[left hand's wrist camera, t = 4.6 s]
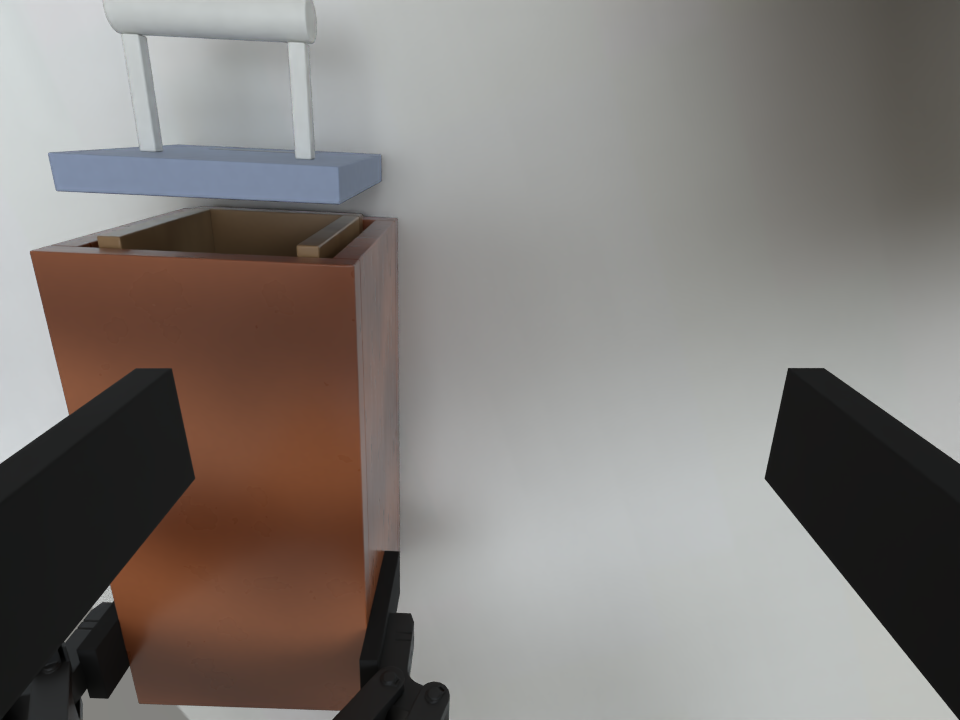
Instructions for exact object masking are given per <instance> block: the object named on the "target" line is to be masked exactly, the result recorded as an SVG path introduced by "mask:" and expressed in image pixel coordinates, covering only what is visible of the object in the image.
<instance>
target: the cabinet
mask: <svg viewBox="0 0 960 720" xmlns="http://www.w3.org/2000/svg"><path fill="white" fill-rule="evenodd" d="M186 210H190V209H189V208H184V209H180V210H177V211H173V212H169V213H166V214H162V215H159V216H155V217H151V218H148V219H144V220H140V221H137V222H133V223H130V224H126V225H122V226H119V227H115V228H112V229H108V230H104V231H101V232H97V233H94V234H90V235H86V236H83V237H79V238H75V239H72V240H68V241H65V242H61V243H57V244H54V245H51V246H46V247H43V248H39V249H35V250H32V251H30V255H31V259H32V263H33V267H34V271H35V275H36V279H37V284H38V288H39V292H40V296H41V300H42V304H43V308H44V313H45V317H46V321H47V325H48V329H49V333H50V337H51V342H52V346H53V350H54V354H55V358H56V362H57V366H58V371H59V375H60V379H61V383H62V387H63V391H64V395H65V400H66V404H67V408H68V412H69V415H70V414H72V413H73V412H75V411H76V410H77V409H79V408H80V407H82V406H83V405H85V404H86V403H87V402H89V401H90V400H92V399H93V398H94V397H96V396H97V395H99V394H100V393H102V392H103V391H104V390H106V389H107V388H109V387H110V386H111V385H113V384H114V383H116V382H117V381H119V380H120V379H121V378H123V377H124V376H126V375H127V374H128V373H130V372H131V371H133V370H134V369H136V368H172V371H173V376H174V381H175V385H176V390H177V395H178V399H179V404H180V409H181V414H182V418H183V423H184V428H185V432H186V437H187V442H188V446H189V451H190V456H191V460H192V465H193V470H194V475H195V480H194V481H193V482H192V483H191V485H190V486H189V487H188V488H187V490H186V491H185V492H184V493H183V495H182V496H181V497H180V498H179V499H178V501H177V502H176V503H175V504H174V506H173V507H172V508H171V509H170V511H169V512H168V513H167V514H166V516H165V517H164V518H163V519H162V521H161V522H160V523H159V524H158V526H157V527H156V528H155V529H154V531H153V532H152V533H151V534H150V535H149V537H148V538H147V539H146V540H145V542H144V543H143V544H142V545H141V547H140V548H139V549H138V550H137V552H136V553H135V554H134V555H133V557H132V558H131V559H130V560H129V562H128V563H127V564H126V565H125V566H124V568H123V569H122V570H121V571H120V573H119V574H118V575H117V576H116V578H115V579H114V580H113V581H112V583H111V584H110V586H111V590H112V594H113V598H114V602H115V607H116V611H117V615H118V619H119V623H120V627H121V631H122V636H123V640H124V644H125V648H126V652H127V656H128V660H129V665H130V669H131V673H132V677H133V681H134V685H135V689H136V693H137V698H138V702H139V703H140V704H162V705H191V706H220V707H249V708H278V709H307V710H336V711H341V710H342V709H343V708H344V707H345V706H346V705H347V704H348V703H349V701H350V700H351V699H352V698H353V697H354V696H355V695H356V694H357V693H358V692H359V691H360V667H359V659H360V655H361V651H362V646H363V642H364V638H365V633H366V629H367V626H368V622H369V617H370V613H371V609H372V604H373V600H374V595H375V591H376V587H377V582H378V578H379V573H380V569H381V565H382V560H383V556H384V551H400V508H399V361H398V219H397V218H382V217H363V232H362V233H361V234H360V235H358V236H357V237H356V238H355V239H354V240H353V241H352V242H351V243H349V244H348V245H347V246H346V247H345V248H344V249H343V250H342V251H340V252H339V253H338V254H337V255H336V256H335V257H334V258H333V259H332V258H310V257H288V256H266V255H245V254H223V253H201V252H179V251H157V250H135V249H113V248H99V245H98V240H97V236H99V235H102V234H106V233H109V232H113V231H116V230H120V229H123V228H127V227H130V226H134V225H137V224H141V223H144V222H148V221H151V220H155V219H158V218H162V217H165V216H169V215H172V214H176V213H179V212H183V211H186Z"/></svg>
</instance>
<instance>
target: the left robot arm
mask: <svg viewBox="0 0 960 720" xmlns="http://www.w3.org/2000/svg"><path fill="white" fill-rule="evenodd" d="M194 480H195V475H194V470H193V465H192V460H191V456H190V451H189V446H188V442H187V437H186V432H185V428H184V423H183V418H182V414H181V409H180V404H179V399H178V395H177V390H176V385H175V381H174V376H173V371H172V368H136V369H134V370H133V371H131V372H130V373H128V374H127V375H126V376H124V377H123V378H121V379H120V380H119V381H117V382H116V383H114V384H113V385H111V386H110V387H109V388H107V389H106V390H104V391H103V392H102V393H100V394H99V395H97V396H96V397H94V398H93V399H92V400H90V401H89V402H87V403H86V404H85V405H83V406H82V407H80V408H79V409H77V410H76V411H75V412H73V413H72V414H70V415H69V416H68V417H66V418H65V419H63V420H62V421H60V422H59V423H58V424H56V425H55V426H53V427H52V428H51V429H49V430H48V431H46V432H45V433H43V434H42V435H41V436H39V437H38V438H36V439H35V440H33V441H32V442H31V443H29V444H28V445H26V446H25V447H24V448H22V449H21V450H19V451H18V452H16V453H15V454H14V455H12V456H11V457H9V458H8V459H7V460H5V461H4V462H2V463H1V464H0V720H1V719H2V718H3V717H4V715H5V714H6V713H7V712H8V710H9V709H10V708H11V707H12V705H13V704H14V703H15V702H16V700H17V699H18V698H19V697H20V696H21V694H22V693H23V692H24V691H25V689H26V688H27V687H28V686H29V684H30V683H31V682H32V681H33V679H34V678H35V677H36V676H37V674H38V673H39V672H40V671H41V669H42V668H43V667H44V666H45V665H46V663H47V662H48V661H49V660H50V658H51V657H52V656H53V655H54V653H55V652H56V651H57V650H58V648H59V647H60V646H61V645H62V643H63V642H64V641H65V640H66V638H67V637H68V636H69V635H70V633H71V632H72V631H73V630H74V628H75V627H76V626H77V625H78V623H79V622H80V621H81V620H82V619H83V617H84V616H85V615H86V614H87V612H88V611H89V610H90V609H91V607H92V606H93V605H94V604H95V602H96V601H97V600H98V599H99V598H100V596H101V595H102V594H103V593H104V591H105V590H106V589H107V588H108V586H109V585H110V584H111V583H112V581H113V580H114V579H115V578H116V576H117V575H118V574H119V573H120V571H121V570H122V569H123V568H124V566H125V565H126V564H127V563H128V562H129V560H130V559H131V558H132V557H133V555H134V554H135V553H136V552H137V550H138V549H139V548H140V547H141V545H142V544H143V543H144V542H145V540H146V539H147V538H148V537H149V535H150V534H151V533H152V532H153V531H154V529H155V528H156V527H157V526H158V524H159V523H160V522H161V521H162V519H163V518H164V517H165V516H166V514H167V513H168V512H169V511H170V509H171V508H172V507H173V506H174V504H175V503H176V502H177V501H178V499H179V498H180V497H181V496H182V495H183V493H184V492H185V491H186V490H187V488H188V487H189V486H190V485H191V483H192V482H193V481H194ZM765 480H766V481H767V482H768V483H769V485H770V486H771V487H772V488H773V490H774V491H775V492H776V493H777V495H778V496H779V497H780V498H781V499H782V501H783V502H784V503H785V504H786V506H787V507H788V508H789V509H790V511H791V512H792V513H793V514H794V516H795V517H796V518H797V519H798V521H799V522H800V523H801V524H802V526H803V527H804V528H805V529H806V531H807V532H808V533H809V534H810V535H811V537H812V538H813V539H814V540H815V542H816V543H817V544H818V545H819V547H820V548H821V549H822V550H823V552H824V553H825V554H826V555H827V557H828V558H829V559H830V560H831V562H832V563H833V564H834V565H835V566H836V568H837V569H838V570H839V571H840V573H841V574H842V575H843V576H844V578H845V579H846V580H847V581H848V583H849V584H850V585H851V586H852V588H853V589H854V590H855V591H856V593H857V594H858V595H859V596H860V598H861V599H862V600H863V601H864V602H865V604H866V605H867V606H868V607H869V609H870V610H871V611H872V612H873V614H874V615H875V616H876V617H877V619H878V620H879V621H880V622H881V624H882V625H883V626H884V627H885V629H886V630H887V631H888V632H889V633H890V635H891V636H892V637H893V638H894V640H895V641H896V642H897V643H898V645H899V646H900V647H901V648H902V650H903V651H904V652H905V653H906V655H907V656H908V657H909V658H910V660H911V661H912V662H913V663H914V665H915V666H916V667H917V668H918V669H919V671H920V672H921V673H922V674H923V676H924V677H925V678H926V679H927V681H928V682H929V683H930V684H931V686H932V687H933V688H934V689H935V691H936V692H937V693H938V694H939V696H940V697H941V698H942V699H943V700H944V702H945V703H946V704H947V705H948V707H949V708H950V709H951V710H952V712H953V713H954V714H955V715H956V717H957V718H958V719H959V720H960V464H959V463H958V462H956V461H955V460H953V459H952V458H951V457H949V456H948V455H946V454H945V453H944V452H942V451H941V450H939V449H938V448H936V447H935V446H934V445H932V444H931V443H929V442H928V441H927V440H925V439H924V438H922V437H921V436H919V435H918V434H917V433H915V432H914V431H912V430H911V429H909V428H908V427H907V426H905V425H904V424H902V423H901V422H900V421H898V420H897V419H895V418H894V417H892V416H891V415H890V414H888V413H887V412H885V411H884V410H883V409H881V408H880V407H878V406H877V405H875V404H874V403H873V402H871V401H870V400H868V399H867V398H866V397H864V396H863V395H861V394H860V393H858V392H857V391H856V390H854V389H853V388H851V387H850V386H849V385H847V384H846V383H844V382H843V381H841V380H840V379H839V378H837V377H836V376H834V375H833V374H832V373H830V372H829V371H827V370H826V369H824V368H788V371H787V376H786V381H785V385H784V390H783V395H782V399H781V404H780V409H779V414H778V418H777V423H776V428H775V432H774V437H773V442H772V446H771V451H770V456H769V460H768V465H767V470H766V475H765Z"/></svg>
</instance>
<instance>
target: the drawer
mask: <svg viewBox="0 0 960 720" xmlns="http://www.w3.org/2000/svg"><path fill="white" fill-rule="evenodd" d="M103 7H104V11H105V14H106V17H107V19H108V21H109V23H110V25H111V26H112V28H113V29H114V30H115V31H116V32H118V33H120V34H122V35H121V36H122V42H123V48H124V54H125V60H126V67H127V73H128V79H129V85H130V92H131V98H132V104H133V110H134V116H135V123H136V129H137V135H138V141H139V147H132V148H115V149H99V150H83V151H67V152H50V153H48V156H49V160H50V165H51V170H52V174H53V179H54V183H55V188H56V191H65V192H86V193H108V194H129V195H150V196H171V197H193V198H214V199H235V200H257V201H278V202H299V203H321V204H341V203H343V202H345V201H346V200H348V199H350V198H352V197H354V196H355V195H357V194H359V193H361V192H363V191H365V190H366V189H368V188H370V187H372V186H374V185H375V184H377V183H379V182H381V181H382V174H381V155H380V154H361V153H341V152H320V151H315V145H314V127H313V109H312V91H311V73H310V56H309V45H308V44H312V43H314V42H315V39H316V33H317V21H316V12H315V7H314V3H313V1H312V0H103ZM143 35H150V36H169V37H189V38H209V39H228V40H248V41H268V42H287V43H288V58H289V73H290V87H291V102H292V117H293V132H294V146H295V150H279V149H258V148H237V147H216V146H196V145H164V146H163V145H162V139H161V132H160V125H159V118H158V111H157V105H156V98H155V91H154V84H153V77H152V71H151V64H150V57H149V50H148V43H147V38H146V37H145V36H143ZM305 43H307V44H305ZM362 232H363V215H362V214H356V213H334V212H313V211H292V210H270V209H249V208H227V207H206V206H200V207H197V208H193V209H190V210H186V211H183V212H179V213H176V214H172V215H169V216H165V217H162V218H158V219H155V220H151V221H148V222H144V223H141V224H137V225H134V226H130V227H127V228H123V229H120V230H116V231H113V232H109V233H106V234H102V235H99V236H97V240H98V245H99V248H113V249H135V250H157V251H179V252H201V253H223V254H245V255H266V256H288V257H310V258H332V259H333V258H334V257H335V256H336V255H337V254H338V253H339V252H340V251H342V250H343V249H344V248H345V247H346V246H347V245H348V244H349V243H351V242H352V241H353V240H354V239H355V238H356V237H357V236H358V235H360V234H361V233H362Z"/></svg>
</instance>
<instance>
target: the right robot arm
mask: <svg viewBox="0 0 960 720" xmlns="http://www.w3.org/2000/svg"><path fill="white" fill-rule="evenodd" d="M399 595H400V551H384V556H383V560H382V565H381V569H380V573H379V578H378V582H377V587H376V591H375V595H374V600H373V604H372V609H371V613H370V617H369V622H368V626H367V629H366V633H365V638H364V642H363V646H362V651H361V655H360V659H359V667H360V691H359V692H358V693H357V694H356V695H355V696H354V697H353V698H352V699H351V700H350V701H349V703H348V704H347V705H346V706H345V707H344V708H343V709H342V710H341V711H340V712H339V713H338V714H337V715H336V716H335V718H334V719H333V720H449V699H450V695H449V690H448V689H447V687H446V686H445V685H443V684H442V683H440V682H430V683H427V684H425V685H424V686H423V685H420V684H418V683H416V682H414V681H413V680H412V679H411V678H410V671H411V663H412V656H413V648H414V621H413V618H412V615H411V613H396V611H397V606H398V600H399ZM129 666H130V665H129V660H128V656H127V652H126V648H125V644H124V640H123V636H122V631H121V627H120V623H119V619H118V615H117V611H116V607H115V602H114V601H113V603H109V602H102V603H101V604H100V605H98V606H97V607H95V608H94V609H93V610H91V612H90V613H89V614H88V615H87V617H86V618H85V619H84V621H83V622H82V623H81V624H80V625H79V627H78V629H76V630H75V631H74V633H73V634H72V635H71V636H70V638H69V639H68V640H67V641H66V643H65V642H63V643H62V645H61V646H60V647H59V648H58V650H57V651H56V652H55V653H54V655H53V656H52V657H51V658H50V660H49V661H48V662H47V663H46V665H45V666H44V667H43V668H42V669H41V671H40V672H39V673H38V674H37V676H36V677H35V678H34V679H33V681H32V682H31V683H30V684H29V686H28V687H27V688H26V689H25V691H24V692H23V693H22V694H21V696H20V697H19V698H18V699H17V700H16V702H15V703H14V704H13V705H12V707H11V708H10V709H9V710H8V712H7V713H6V714H5V715H4V717H3V718H2V719H1V720H82V717H83V703H82V700H81V696H82V695H83V693H84V692H85V691H86V689H88V693H89V696H90V698H105V699H108V698H109V697H110V695H111V693H112V692H113V690H114V689H115V687H116V686H117V684H118V683H119V681H120V680H121V678H122V677H123V675H124V674H125V672H126V670H127V669H128V667H129Z"/></svg>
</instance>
